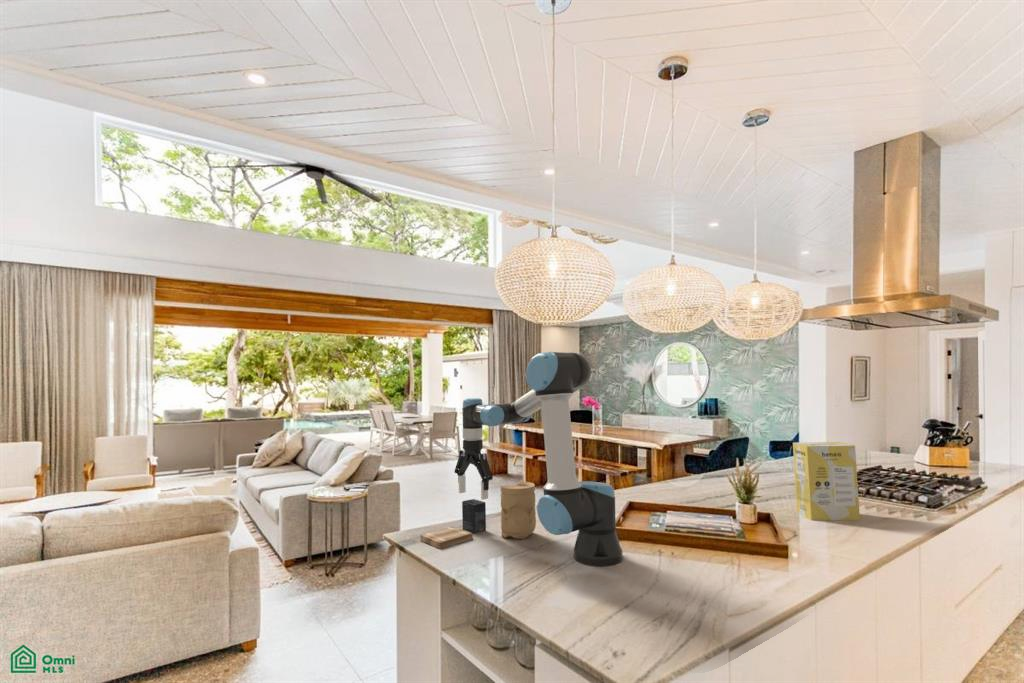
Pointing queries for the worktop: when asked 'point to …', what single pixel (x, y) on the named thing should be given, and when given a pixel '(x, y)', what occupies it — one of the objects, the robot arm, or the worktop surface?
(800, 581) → the worktop surface
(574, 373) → the robot arm
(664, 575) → the worktop surface
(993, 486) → the worktop surface
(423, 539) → the board
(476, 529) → the box
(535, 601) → the worktop surface
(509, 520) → the container
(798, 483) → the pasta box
